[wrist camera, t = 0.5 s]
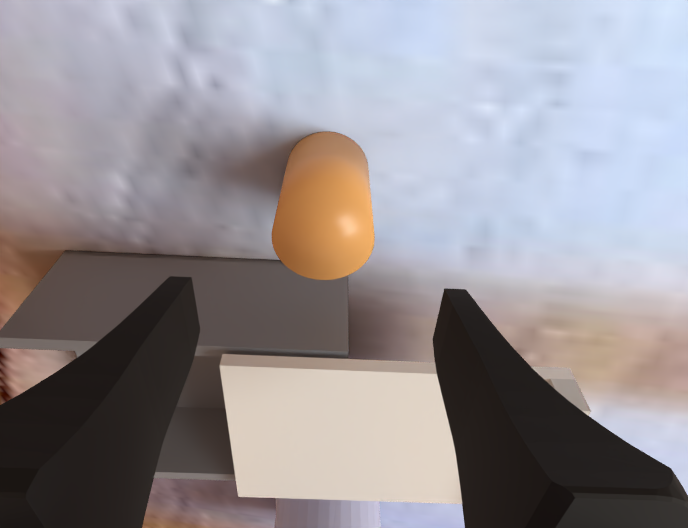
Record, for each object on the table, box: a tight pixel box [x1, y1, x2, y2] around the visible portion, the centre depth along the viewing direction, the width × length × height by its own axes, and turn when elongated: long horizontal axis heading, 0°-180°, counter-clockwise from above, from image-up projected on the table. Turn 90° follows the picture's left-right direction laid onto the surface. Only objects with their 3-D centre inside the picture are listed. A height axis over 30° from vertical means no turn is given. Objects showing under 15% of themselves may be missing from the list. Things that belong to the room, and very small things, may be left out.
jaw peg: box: [272, 132, 374, 280], centre depth 19 cm, size 4×4×6 cm
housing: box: [0, 251, 349, 481], centre depth 25 cm, size 10×14×6 cm
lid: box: [219, 354, 591, 504], centre depth 21 cm, size 10×14×2 cm
